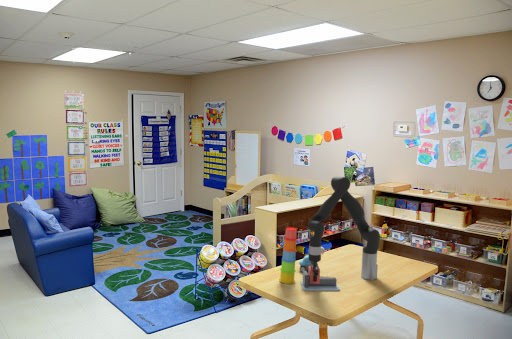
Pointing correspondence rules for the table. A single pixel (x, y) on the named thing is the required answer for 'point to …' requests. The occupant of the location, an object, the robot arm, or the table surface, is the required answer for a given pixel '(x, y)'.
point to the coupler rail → (323, 281)
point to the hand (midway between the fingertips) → (313, 279)
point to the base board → (320, 288)
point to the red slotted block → (310, 274)
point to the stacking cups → (289, 256)
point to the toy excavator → (307, 262)
